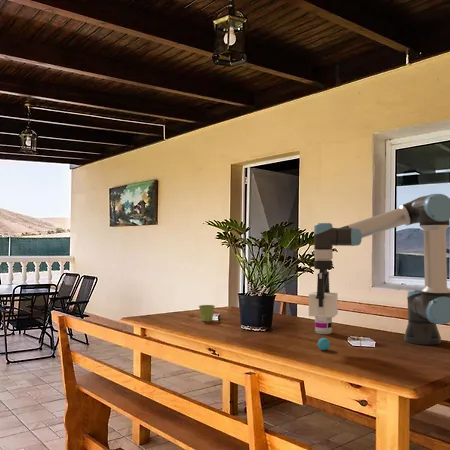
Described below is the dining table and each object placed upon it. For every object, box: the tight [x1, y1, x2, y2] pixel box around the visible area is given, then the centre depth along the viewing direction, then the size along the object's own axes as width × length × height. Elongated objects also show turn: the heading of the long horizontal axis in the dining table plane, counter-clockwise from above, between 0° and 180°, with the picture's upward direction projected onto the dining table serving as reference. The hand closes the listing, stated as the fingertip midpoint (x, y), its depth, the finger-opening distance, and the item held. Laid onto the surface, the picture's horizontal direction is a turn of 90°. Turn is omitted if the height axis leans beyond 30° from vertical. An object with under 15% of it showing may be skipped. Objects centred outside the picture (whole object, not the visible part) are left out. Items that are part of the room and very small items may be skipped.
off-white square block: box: [308, 291, 339, 318], centre depth 196 cm, size 10×10×9 cm
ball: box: [317, 337, 331, 351], centre depth 195 cm, size 5×5×5 cm
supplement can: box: [314, 316, 333, 335], centre depth 232 cm, size 8×8×15 cm
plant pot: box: [198, 304, 216, 323], centre depth 269 cm, size 9×9×9 cm
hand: (323, 312), depth 196 cm, fingers closed on off-white square block, 10 cm apart
